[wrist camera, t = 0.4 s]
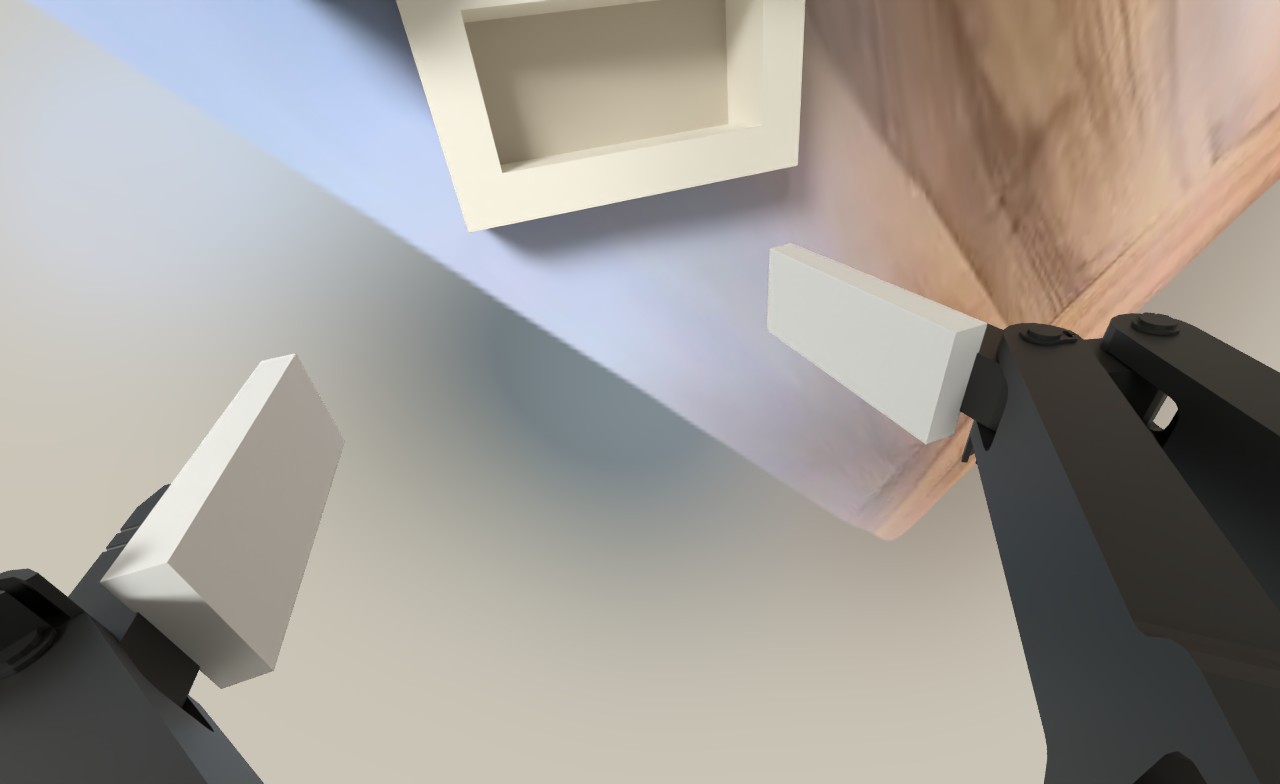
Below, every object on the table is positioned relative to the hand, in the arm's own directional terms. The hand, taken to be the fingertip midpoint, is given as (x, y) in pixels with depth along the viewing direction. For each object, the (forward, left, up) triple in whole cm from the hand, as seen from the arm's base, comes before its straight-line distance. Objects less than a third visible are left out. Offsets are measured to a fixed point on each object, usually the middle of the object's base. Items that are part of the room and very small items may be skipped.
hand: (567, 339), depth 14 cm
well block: (-6, +10, -27) cm, 29 cm away
